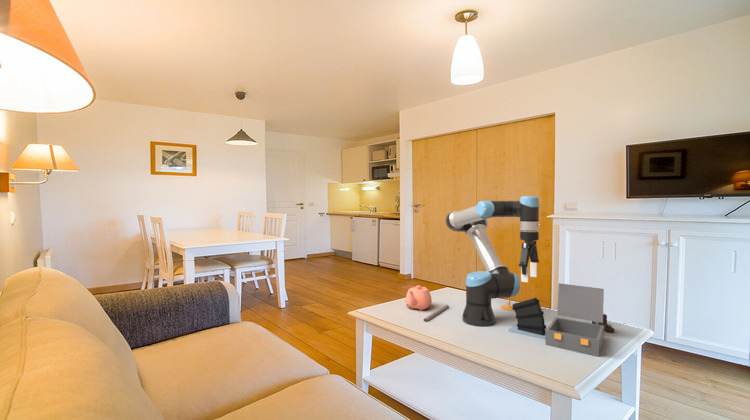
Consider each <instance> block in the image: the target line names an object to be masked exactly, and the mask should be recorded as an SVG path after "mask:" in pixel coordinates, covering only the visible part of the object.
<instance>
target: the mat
mask: <svg viewBox="0 0 750 420" xmlns="http://www.w3.org/2000/svg"><path fill="white" fill-rule="evenodd" d="M516 325H517V324H516ZM516 325H515V324H513V325H512V326H510V328H508V329H507V331H508V332H510V333H514V334H517V335H518V334H519V335H524V336H529V337H532V338H536V339H542V340H546V331H545V334H544V335H539V334H535V333H530V332H526V331H522V330H518V326H516Z"/></svg>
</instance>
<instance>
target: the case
mask: <svg viewBox="0 0 750 420" xmlns="http://www.w3.org/2000/svg"><path fill="white" fill-rule="evenodd" d="M545 332H546V338H545V345H546V346H549V347H553V348H558V349H563V350H568V351H571V352H576V353H581V354H585V355H590V356H593V357H597V358H598V357H600V355H601V352H602V347H603V346H604V342H605V331H604V326H603V325H598V322H595V324H592V322H591V323H590V322H586V321H579V320H573V319H570V318H562V317H554V318H553V320H552V321H551V322H550V323H549V325H548V326H546V328H545Z"/></svg>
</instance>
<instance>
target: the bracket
mask: <svg viewBox="0 0 750 420" xmlns="http://www.w3.org/2000/svg"><path fill="white" fill-rule="evenodd" d="M591 324H595V322H594V321H591ZM598 325H603V326H604V333H608V334H615V328H614V327H613V326H611V325H609V324H608V315H607V314H605V313H603V323H600V322H598Z"/></svg>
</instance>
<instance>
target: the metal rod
mask: <svg viewBox="0 0 750 420" xmlns="http://www.w3.org/2000/svg"><path fill="white" fill-rule="evenodd" d="M449 308H450V306H449V305H448V304H445V305H443V306H442V307H441V308H439V309H437V310H435V311H433V313H431V314H429V315H428V316H425V318H423V322H429V321H430V320H433V319H434V318H435V317H436V316H439V315H440V314H442V313H443V312H444V311H446V310H448V309H449Z"/></svg>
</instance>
